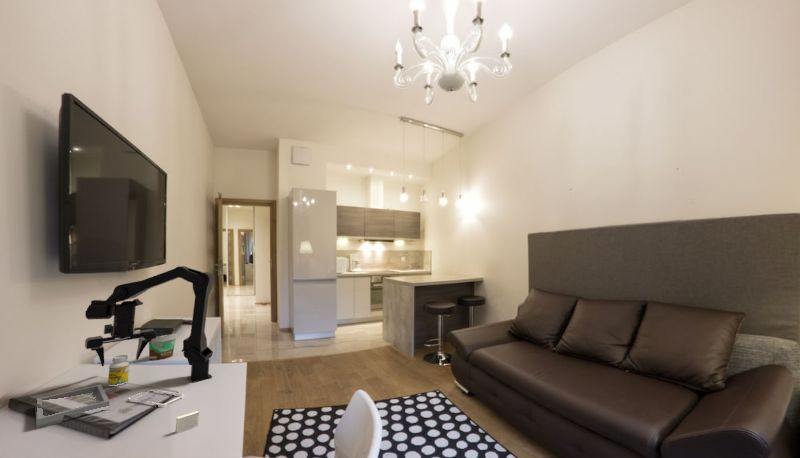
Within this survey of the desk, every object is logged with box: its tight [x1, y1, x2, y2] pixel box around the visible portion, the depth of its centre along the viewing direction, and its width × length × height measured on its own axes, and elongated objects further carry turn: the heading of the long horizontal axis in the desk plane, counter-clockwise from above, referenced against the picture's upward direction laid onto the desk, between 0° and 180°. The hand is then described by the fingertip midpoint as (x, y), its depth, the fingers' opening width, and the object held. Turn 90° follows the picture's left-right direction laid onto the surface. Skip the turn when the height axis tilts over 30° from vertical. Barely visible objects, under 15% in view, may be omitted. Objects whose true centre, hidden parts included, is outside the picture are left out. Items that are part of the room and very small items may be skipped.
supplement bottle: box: [107, 354, 130, 386], centre depth 110 cm, size 5×5×10 cm
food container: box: [147, 331, 178, 361], centre depth 139 cm, size 12×6×10 cm, turn 168°
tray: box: [35, 384, 110, 430], centre depth 92 cm, size 18×14×2 cm
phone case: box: [127, 389, 185, 408], centre depth 99 cm, size 7×1×15 cm
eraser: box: [175, 410, 200, 434], centre depth 82 cm, size 1×5×4 cm, turn 137°
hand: (120, 362), depth 110 cm, fingers open, 9 cm apart
